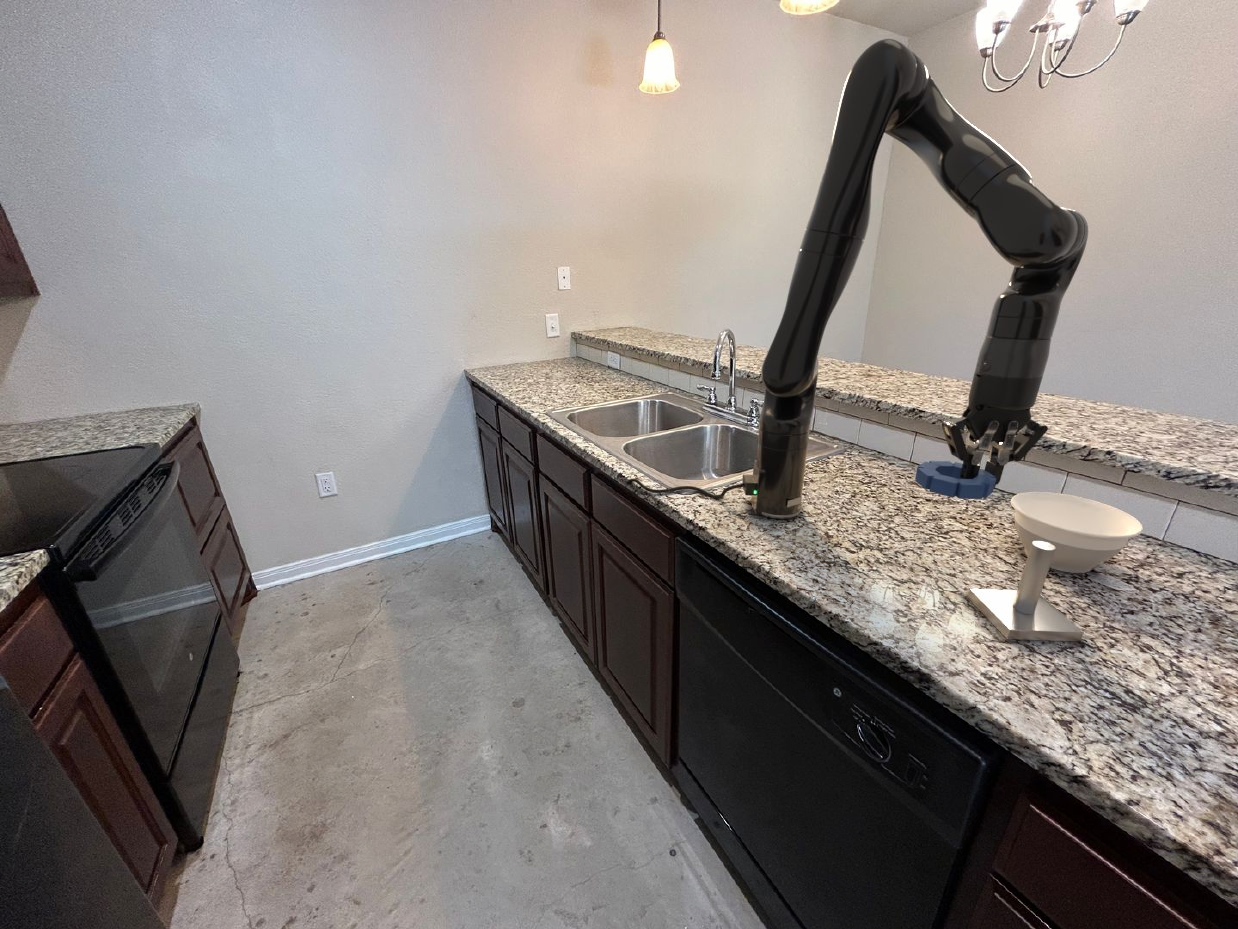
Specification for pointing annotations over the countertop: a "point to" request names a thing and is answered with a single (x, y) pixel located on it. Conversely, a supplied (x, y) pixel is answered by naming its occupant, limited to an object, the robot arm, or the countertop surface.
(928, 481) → the ring
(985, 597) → the metal peg stand
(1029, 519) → the bowl
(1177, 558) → the countertop surface
